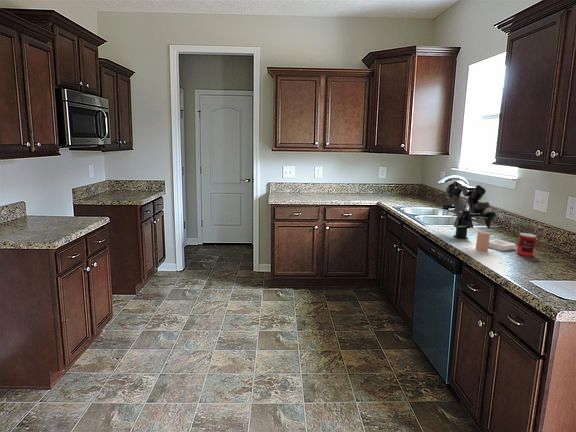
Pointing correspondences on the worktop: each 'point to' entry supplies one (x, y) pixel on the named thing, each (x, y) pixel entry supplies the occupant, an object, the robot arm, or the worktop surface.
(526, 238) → the canned food
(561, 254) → the worktop surface
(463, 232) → the robot arm
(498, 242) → the tray
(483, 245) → the terracotta block
